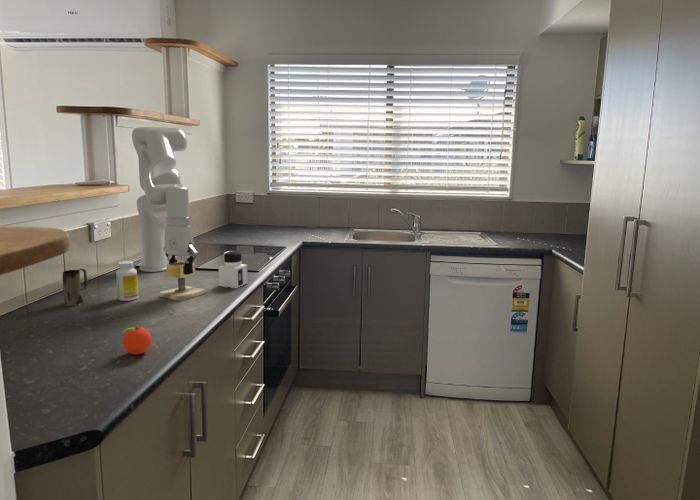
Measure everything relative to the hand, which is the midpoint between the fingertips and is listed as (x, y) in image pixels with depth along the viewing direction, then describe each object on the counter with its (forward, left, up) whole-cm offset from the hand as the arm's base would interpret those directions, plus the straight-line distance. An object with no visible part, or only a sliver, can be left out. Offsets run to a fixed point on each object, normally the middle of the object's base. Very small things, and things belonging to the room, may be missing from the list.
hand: (181, 272), depth 187 cm
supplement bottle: (-12, -13, -9) cm, 20 cm away
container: (+6, +20, -9) cm, 22 cm away
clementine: (+31, -44, -9) cm, 54 cm away
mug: (-21, -26, -9) cm, 34 cm away
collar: (0, 0, -1) cm, 1 cm away
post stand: (0, 0, -8) cm, 8 cm away
